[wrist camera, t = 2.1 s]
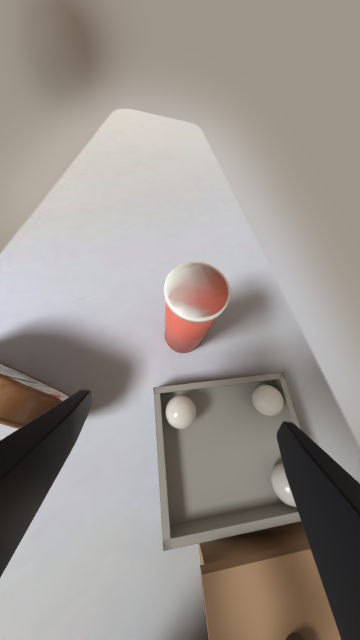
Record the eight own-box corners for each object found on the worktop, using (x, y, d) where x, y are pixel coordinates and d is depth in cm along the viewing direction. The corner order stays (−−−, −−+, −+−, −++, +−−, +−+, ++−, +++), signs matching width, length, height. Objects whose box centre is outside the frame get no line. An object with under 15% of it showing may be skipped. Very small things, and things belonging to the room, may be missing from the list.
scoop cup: (165, 356, 23) (167, 322, 13) (162, 318, 25) (161, 263, 15) (205, 352, 24) (236, 317, 14) (199, 315, 26) (223, 260, 15)
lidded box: (210, 693, 14) (234, 850, 9) (193, 533, 17) (204, 586, 12) (342, 652, 15) (425, 770, 10) (303, 510, 19) (353, 550, 14)
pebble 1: (166, 428, 20) (167, 433, 17) (164, 397, 21) (164, 396, 18) (195, 424, 20) (201, 428, 17) (191, 393, 21) (196, 393, 18)
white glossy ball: (251, 416, 21) (264, 419, 18) (244, 387, 22) (256, 385, 19) (277, 413, 21) (294, 415, 18) (269, 384, 22) (284, 382, 19)
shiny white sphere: (269, 499, 18) (288, 518, 15) (261, 461, 19) (277, 472, 16) (299, 494, 18) (323, 510, 16) (289, 456, 20) (309, 466, 17)
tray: (163, 530, 17) (163, 550, 15) (154, 388, 22) (153, 387, 19) (306, 501, 19) (326, 515, 17) (271, 375, 23) (283, 372, 21)
